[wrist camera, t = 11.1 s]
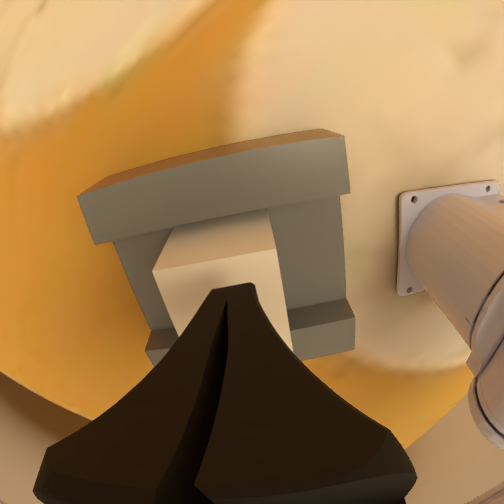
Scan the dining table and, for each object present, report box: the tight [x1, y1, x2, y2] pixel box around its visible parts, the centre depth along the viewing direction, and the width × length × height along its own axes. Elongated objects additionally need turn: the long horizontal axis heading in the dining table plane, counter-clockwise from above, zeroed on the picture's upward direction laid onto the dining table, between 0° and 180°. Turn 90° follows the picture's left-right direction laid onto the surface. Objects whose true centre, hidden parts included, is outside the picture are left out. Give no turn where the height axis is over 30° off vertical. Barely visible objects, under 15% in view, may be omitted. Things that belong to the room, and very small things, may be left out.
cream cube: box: [152, 208, 293, 352], centre depth 16 cm, size 5×6×6 cm
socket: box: [77, 129, 355, 367], centre depth 18 cm, size 13×13×4 cm
